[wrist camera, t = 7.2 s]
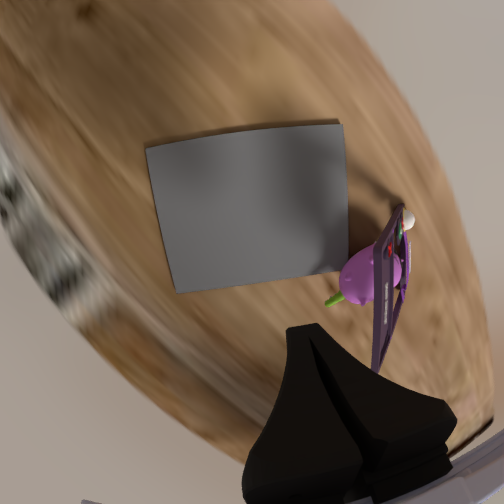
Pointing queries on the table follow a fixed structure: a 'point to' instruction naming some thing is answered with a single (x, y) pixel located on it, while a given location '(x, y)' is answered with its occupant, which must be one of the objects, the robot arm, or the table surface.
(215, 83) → the table surface
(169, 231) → the mat
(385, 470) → the robot arm
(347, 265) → the purple monster photo frame
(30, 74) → the table surface
